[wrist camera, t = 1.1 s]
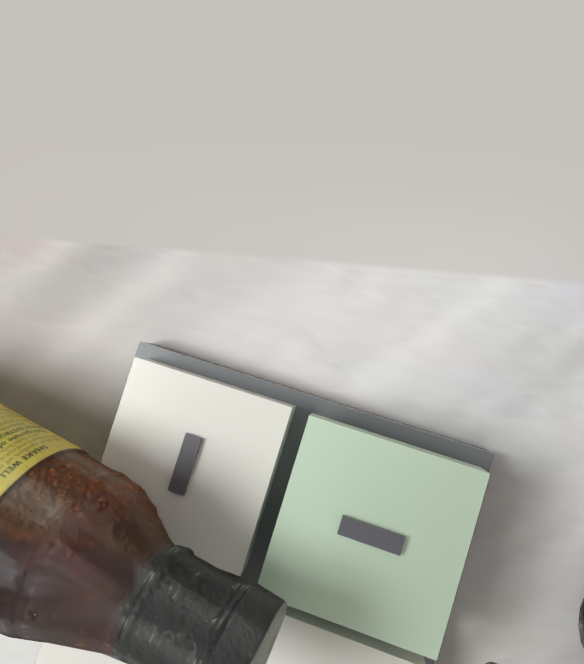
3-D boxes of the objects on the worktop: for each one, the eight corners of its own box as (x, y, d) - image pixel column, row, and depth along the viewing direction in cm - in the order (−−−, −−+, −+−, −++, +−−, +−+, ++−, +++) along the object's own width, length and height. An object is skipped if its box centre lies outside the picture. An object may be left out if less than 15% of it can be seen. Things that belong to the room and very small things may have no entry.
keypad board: (380, 818, 23) (384, 881, 20) (41, 677, 25) (1, 715, 22) (486, 450, 24) (504, 459, 21) (149, 343, 26) (124, 338, 23)
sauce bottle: (-300, 450, 19) (172, 812, 13) (-154, 311, 21) (295, 555, 15) (-150, 497, 24) (226, 764, 18) (-49, 382, 27) (310, 582, 21)
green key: (426, 627, 22) (437, 664, 19) (265, 568, 23) (253, 595, 20) (474, 462, 23) (491, 474, 20) (314, 411, 24) (308, 415, 21)
